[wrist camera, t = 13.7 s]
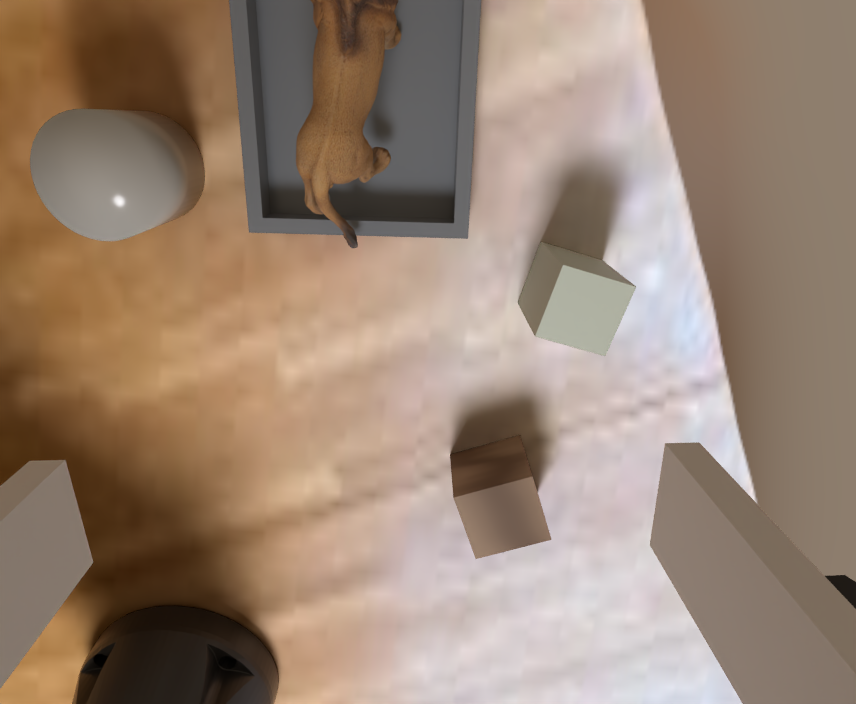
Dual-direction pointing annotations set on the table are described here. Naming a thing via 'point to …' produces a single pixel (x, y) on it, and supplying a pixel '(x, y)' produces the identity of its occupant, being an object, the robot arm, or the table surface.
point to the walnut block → (497, 497)
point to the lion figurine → (344, 100)
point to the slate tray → (384, 127)
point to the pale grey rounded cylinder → (115, 171)
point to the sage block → (574, 299)
